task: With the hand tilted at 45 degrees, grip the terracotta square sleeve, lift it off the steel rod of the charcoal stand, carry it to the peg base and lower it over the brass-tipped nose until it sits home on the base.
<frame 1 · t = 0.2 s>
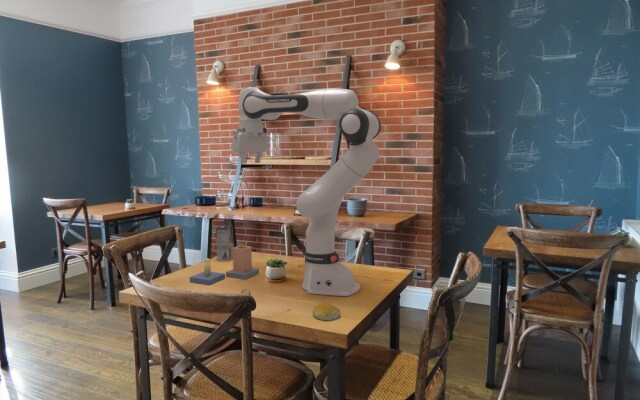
hand: (250, 163, 181), 48 cm above the table, tool pointing down, fingers open, 8 cm apart
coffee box: (225, 259, 217), on the table
bread roll: (326, 316, 145), on the table
peg base: (207, 280, 183), on the table
sleeve: (242, 270, 190), point 2 cm above the table, touching stand
stand: (242, 274, 190), on the table
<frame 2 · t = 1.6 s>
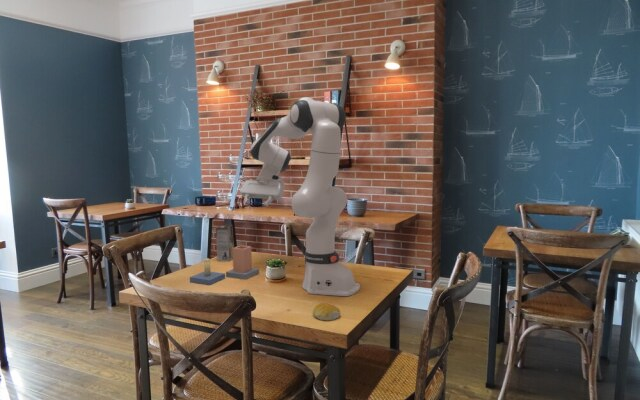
hand: (256, 204, 198), 29 cm above the table, tool tilted 45°, fingers open, 8 cm apart
nothing on the table moved.
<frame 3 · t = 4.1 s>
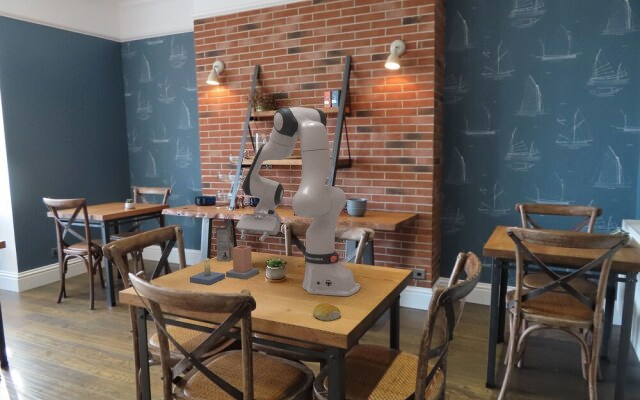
hand: (251, 240, 195), 14 cm above the table, tool tilted 45°, fingers open, 8 cm apart
nothing on the table moved.
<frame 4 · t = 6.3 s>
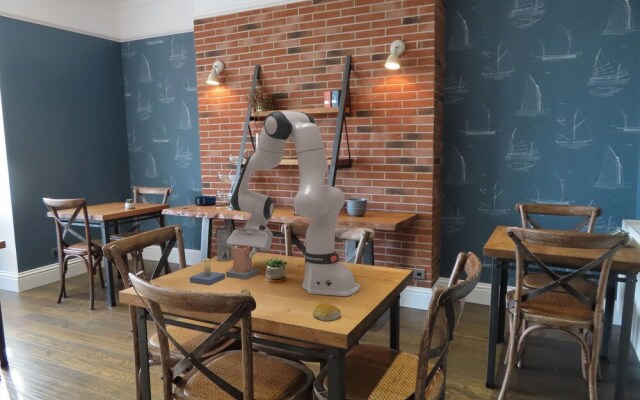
hand: (242, 256, 189), 8 cm above the table, tool tilted 45°, fingers closed on sleeve, 6 cm apart
sleeve: (242, 270, 190), point 2 cm above the table, touching gripper, stand
everything else where it was.
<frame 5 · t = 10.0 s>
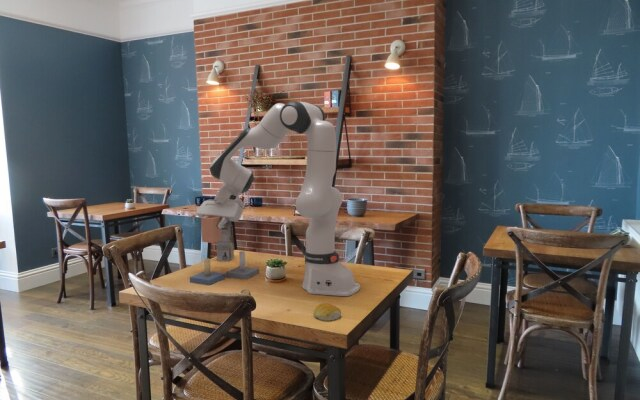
hand: (211, 227, 182), 22 cm above the table, tool tilted 45°, fingers closed on sleeve, 6 cm apart
sleeve: (211, 241, 183), point 16 cm above the table, touching gripper
everything else where it was.
when the fingers open (9 cm above the table, at t = 13.6 s): sleeve drops 1 cm, resting on peg base.
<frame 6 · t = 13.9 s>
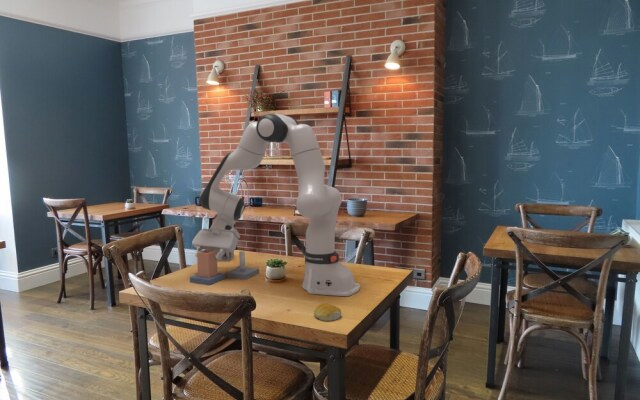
hand: (206, 258, 182), 9 cm above the table, tool tilted 45°, fingers open, 8 cm apart
sleeve: (207, 275, 183), point 2 cm above the table, touching peg base
everything else where it was.
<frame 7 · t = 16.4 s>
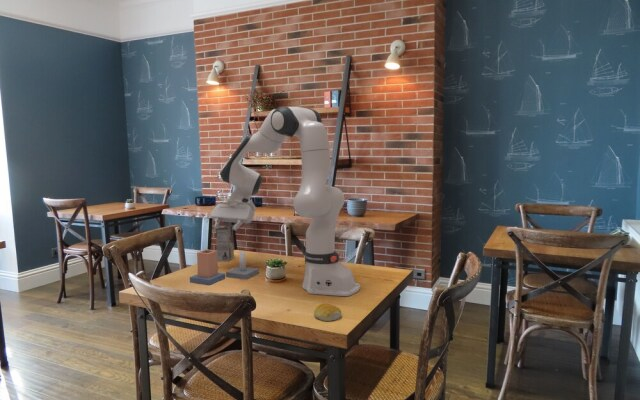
hand: (225, 228, 192), 19 cm above the table, tool tilted 45°, fingers open, 8 cm apart
nothing on the table moved.
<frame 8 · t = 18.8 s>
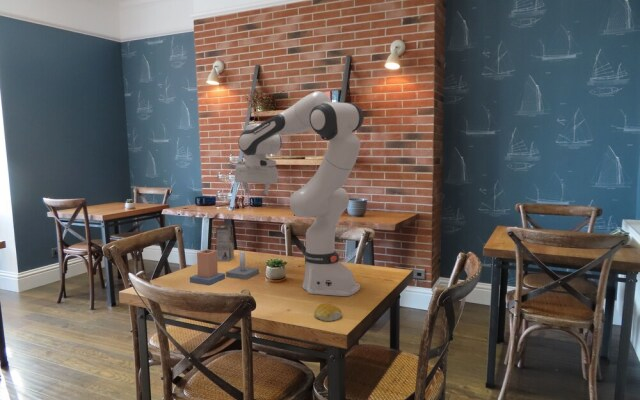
hand: (256, 193, 193), 34 cm above the table, tool pointing down, fingers open, 8 cm apart
nothing on the table moved.
at the end: sleeve 0.1 cm off-centre on the peg base, point 2.0 cm above the peg base's base; sleeve tilted 0°; the gripper is holding nothing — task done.
